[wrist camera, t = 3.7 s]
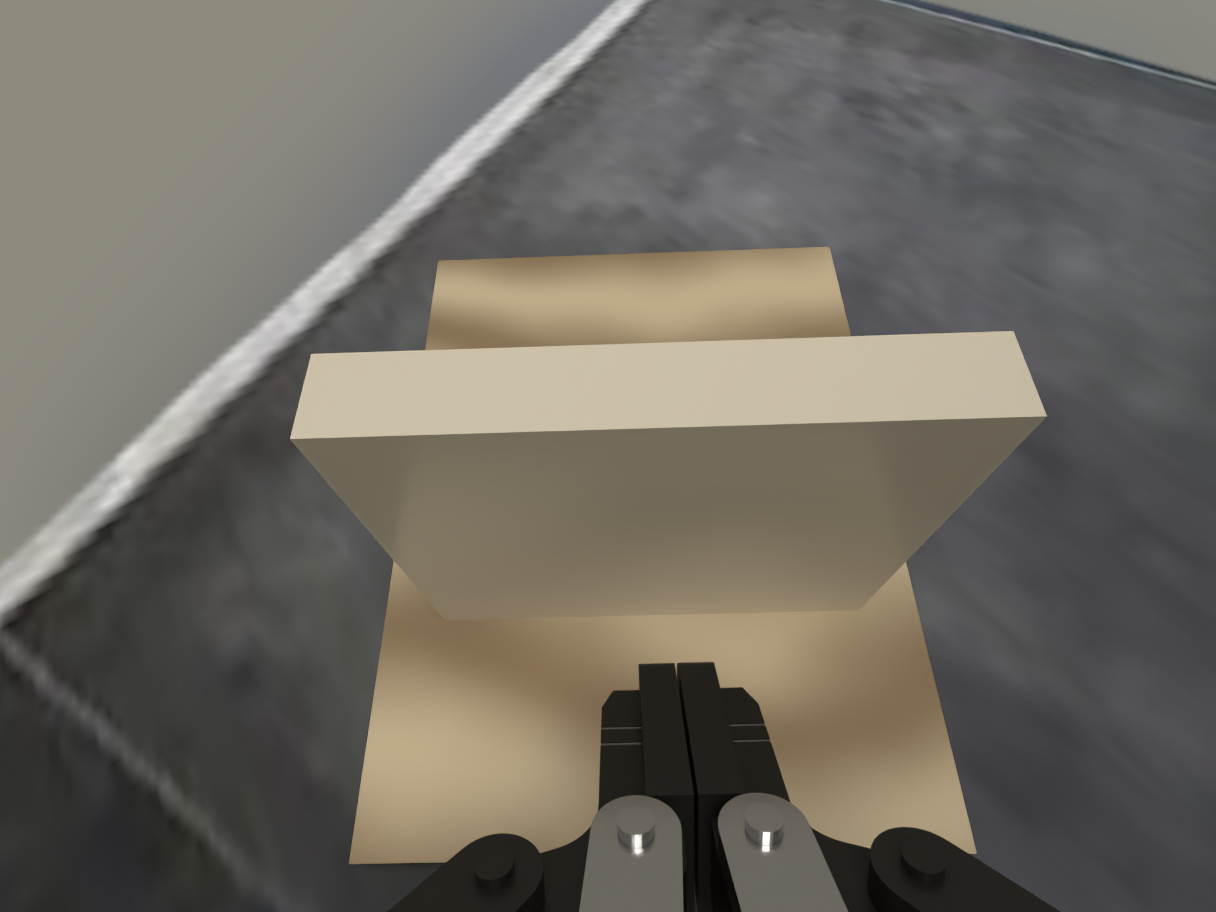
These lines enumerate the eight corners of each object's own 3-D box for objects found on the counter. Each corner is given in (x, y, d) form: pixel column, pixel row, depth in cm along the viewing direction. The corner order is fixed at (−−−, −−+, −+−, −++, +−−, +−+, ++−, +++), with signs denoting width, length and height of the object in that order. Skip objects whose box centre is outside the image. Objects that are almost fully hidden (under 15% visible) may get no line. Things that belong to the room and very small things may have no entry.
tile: (846, 550, 24) (1010, 325, 14) (858, 610, 23) (1046, 416, 12) (451, 560, 24) (312, 348, 14) (444, 620, 23) (289, 438, 13)
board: (445, 283, 33) (438, 260, 32) (821, 270, 33) (829, 246, 31) (366, 862, 21) (348, 864, 20) (955, 852, 21) (976, 853, 19)
